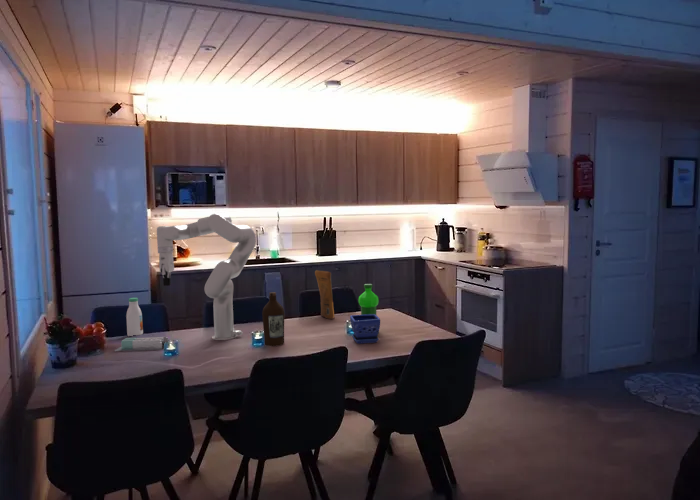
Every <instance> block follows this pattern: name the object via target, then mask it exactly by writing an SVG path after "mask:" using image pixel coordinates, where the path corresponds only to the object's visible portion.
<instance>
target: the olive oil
mask: <svg viewBox="0 0 700 500" xmlns="http://www.w3.org/2000/svg"><path fill="white" fill-rule="evenodd" d="M268 297H269V299H268V300H269V301H267V303H266V304H265V305H264V307H263V308H262V312H261V315H262V327H263V339H264V345H265V346H266V347H278V346H283V345H285V308H284V306H282V305H281V304H280V302H279V301H278V300H277V292H275V291H274V292H269V296H268Z"/></svg>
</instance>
